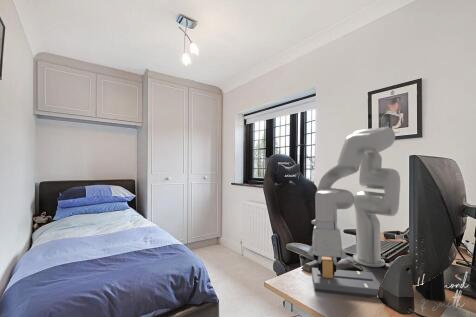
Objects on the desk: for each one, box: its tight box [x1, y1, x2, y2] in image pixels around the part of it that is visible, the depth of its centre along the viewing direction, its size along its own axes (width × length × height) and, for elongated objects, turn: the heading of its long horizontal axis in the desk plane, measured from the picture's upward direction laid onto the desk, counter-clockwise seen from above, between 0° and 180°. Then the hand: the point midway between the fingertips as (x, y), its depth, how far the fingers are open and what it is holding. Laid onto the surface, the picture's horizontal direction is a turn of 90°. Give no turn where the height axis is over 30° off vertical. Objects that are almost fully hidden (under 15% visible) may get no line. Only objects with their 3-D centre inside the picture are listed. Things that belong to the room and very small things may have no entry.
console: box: [311, 267, 381, 298], centre depth 86 cm, size 12×22×3 cm, turn 77°
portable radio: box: [414, 270, 446, 302], centre depth 79 cm, size 8×6×25 cm
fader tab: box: [321, 256, 333, 278], centre depth 88 cm, size 4×4×8 cm
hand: (327, 272), depth 88 cm, fingers closed on fader tab, 3 cm apart
